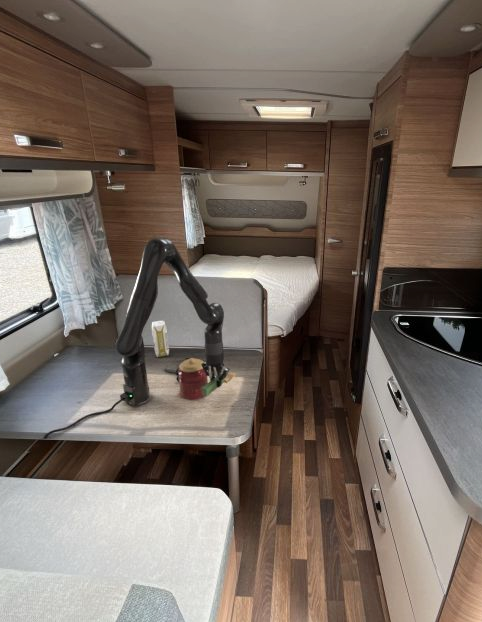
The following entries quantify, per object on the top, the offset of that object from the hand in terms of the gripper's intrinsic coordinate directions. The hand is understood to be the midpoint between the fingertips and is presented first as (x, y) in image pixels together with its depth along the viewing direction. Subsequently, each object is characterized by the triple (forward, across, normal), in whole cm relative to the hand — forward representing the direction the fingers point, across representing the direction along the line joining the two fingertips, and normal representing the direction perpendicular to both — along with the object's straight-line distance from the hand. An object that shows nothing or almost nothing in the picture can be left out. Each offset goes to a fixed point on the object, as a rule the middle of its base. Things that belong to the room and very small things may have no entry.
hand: (216, 385), depth 146 cm
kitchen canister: (+9, -15, +2) cm, 18 cm away
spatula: (0, 0, +2) cm, 2 cm away
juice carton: (+10, -56, +23) cm, 61 cm away
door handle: (+10, -33, +14) cm, 37 cm away
